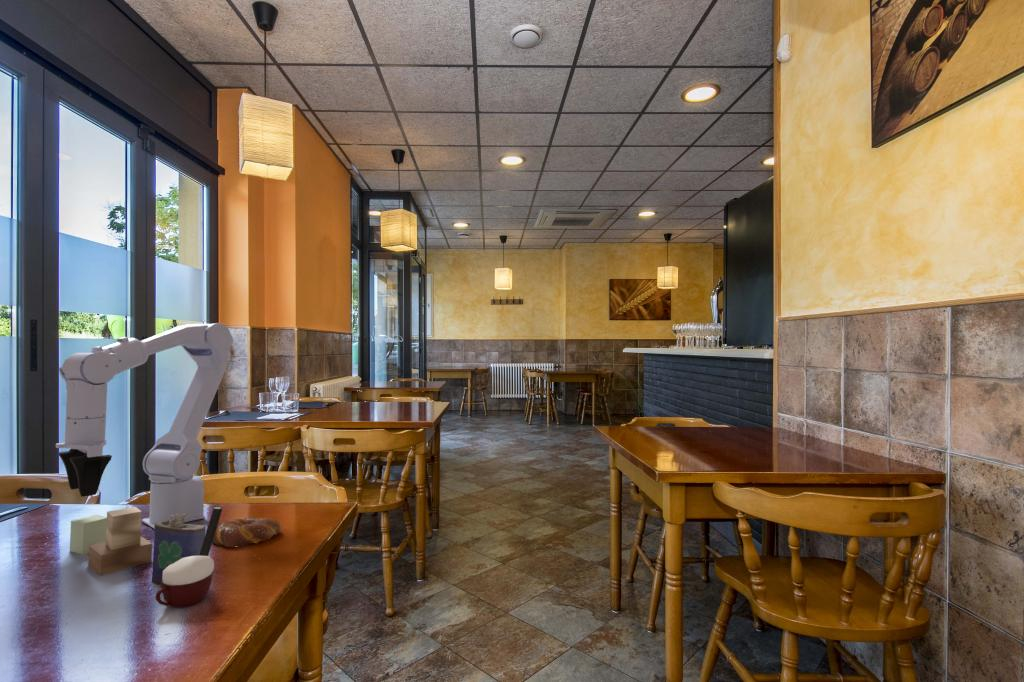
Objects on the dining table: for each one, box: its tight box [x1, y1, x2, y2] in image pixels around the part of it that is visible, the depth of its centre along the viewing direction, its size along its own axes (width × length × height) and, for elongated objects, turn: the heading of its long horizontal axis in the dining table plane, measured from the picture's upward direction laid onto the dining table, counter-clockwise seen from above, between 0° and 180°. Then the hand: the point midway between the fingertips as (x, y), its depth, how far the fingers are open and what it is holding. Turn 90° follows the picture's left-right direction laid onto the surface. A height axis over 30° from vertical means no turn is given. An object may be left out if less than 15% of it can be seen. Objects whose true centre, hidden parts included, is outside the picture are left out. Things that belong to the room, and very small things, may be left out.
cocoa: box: [155, 506, 223, 608], centre depth 73 cm, size 10×6×12 cm, turn 139°
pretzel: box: [212, 516, 282, 548], centre depth 99 cm, size 12×11×4 cm
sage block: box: [69, 514, 107, 556], centre depth 92 cm, size 4×4×6 cm
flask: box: [151, 513, 207, 586], centre depth 79 cm, size 9×3×11 cm, turn 74°
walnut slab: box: [88, 536, 153, 576], centre depth 86 cm, size 7×7×4 cm
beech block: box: [106, 506, 143, 550], centre depth 87 cm, size 4×4×6 cm
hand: (83, 491), depth 93 cm, fingers open, 7 cm apart
